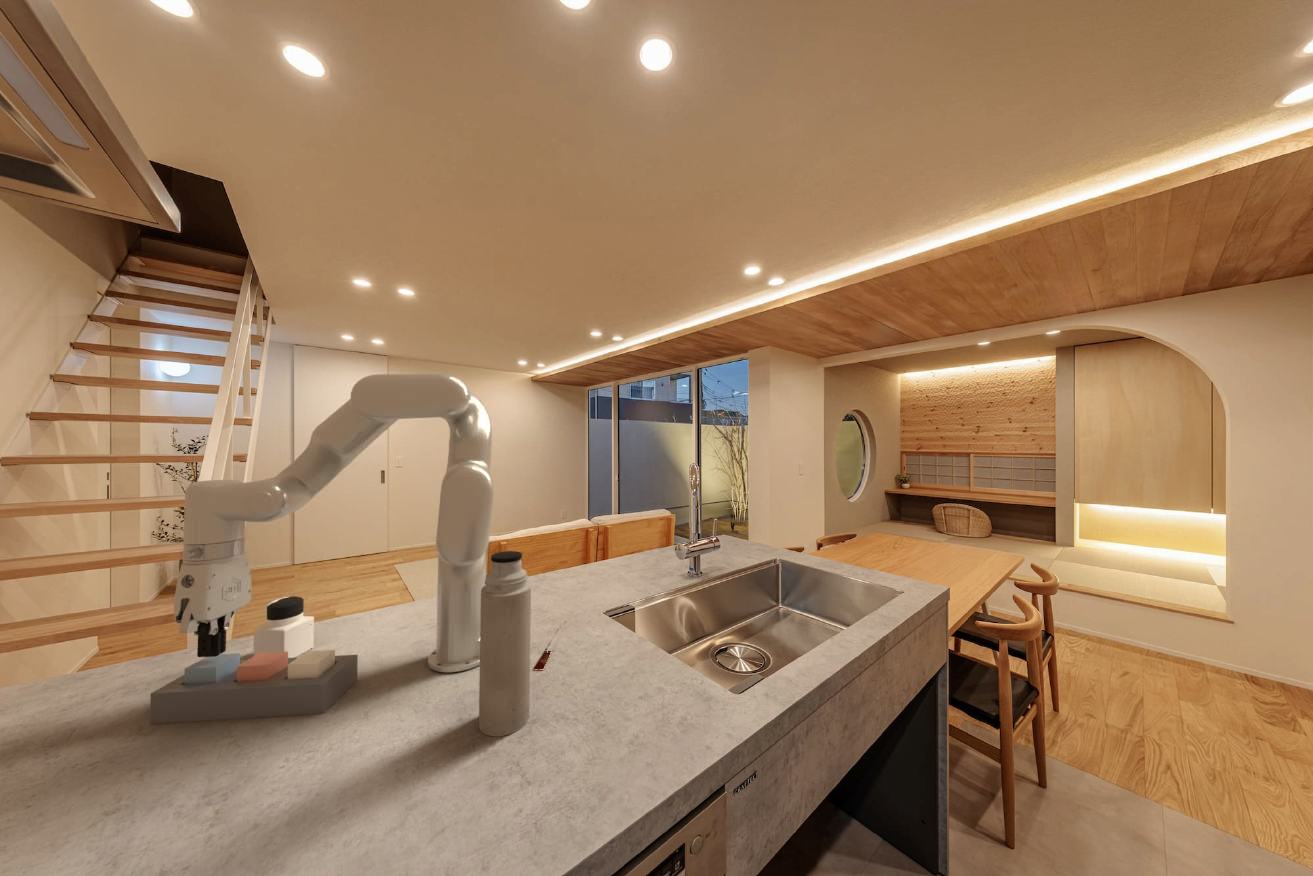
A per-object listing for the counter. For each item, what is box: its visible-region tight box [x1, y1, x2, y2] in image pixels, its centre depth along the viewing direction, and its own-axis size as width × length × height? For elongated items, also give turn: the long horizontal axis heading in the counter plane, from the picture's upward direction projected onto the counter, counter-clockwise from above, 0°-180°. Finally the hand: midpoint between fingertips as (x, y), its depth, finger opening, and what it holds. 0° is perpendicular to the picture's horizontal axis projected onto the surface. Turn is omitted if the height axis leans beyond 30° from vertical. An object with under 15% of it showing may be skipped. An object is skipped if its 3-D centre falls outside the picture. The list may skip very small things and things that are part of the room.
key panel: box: [149, 654, 359, 725], centre depth 76 cm, size 26×10×5 cm, turn 97°
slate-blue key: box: [184, 652, 241, 685], centre depth 75 cm, size 5×5×4 cm
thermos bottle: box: [478, 550, 532, 737], centre depth 71 cm, size 8×8×28 cm
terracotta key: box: [237, 652, 288, 682], centre depth 76 cm, size 5×5×4 cm
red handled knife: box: [533, 648, 551, 670], centre depth 99 cm, size 2×24×1 cm, turn 0°
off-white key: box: [288, 649, 336, 679], centre depth 77 cm, size 5×5×4 cm
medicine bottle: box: [253, 595, 315, 658], centre depth 92 cm, size 7×7×12 cm
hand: (211, 654), depth 75 cm, fingers closed
